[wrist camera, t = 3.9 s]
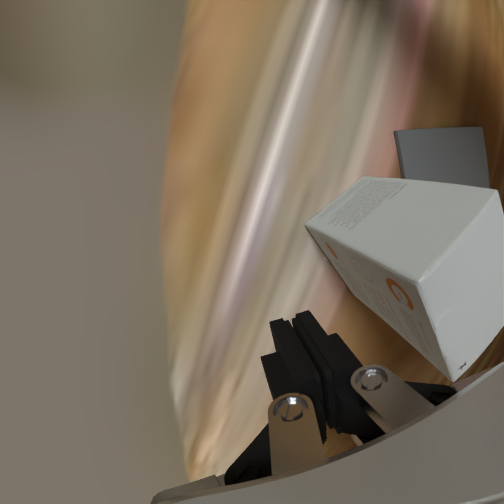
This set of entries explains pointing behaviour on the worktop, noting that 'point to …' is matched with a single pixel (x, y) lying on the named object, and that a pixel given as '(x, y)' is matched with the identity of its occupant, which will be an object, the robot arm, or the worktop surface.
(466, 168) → the mat
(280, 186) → the worktop surface
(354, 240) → the small box
